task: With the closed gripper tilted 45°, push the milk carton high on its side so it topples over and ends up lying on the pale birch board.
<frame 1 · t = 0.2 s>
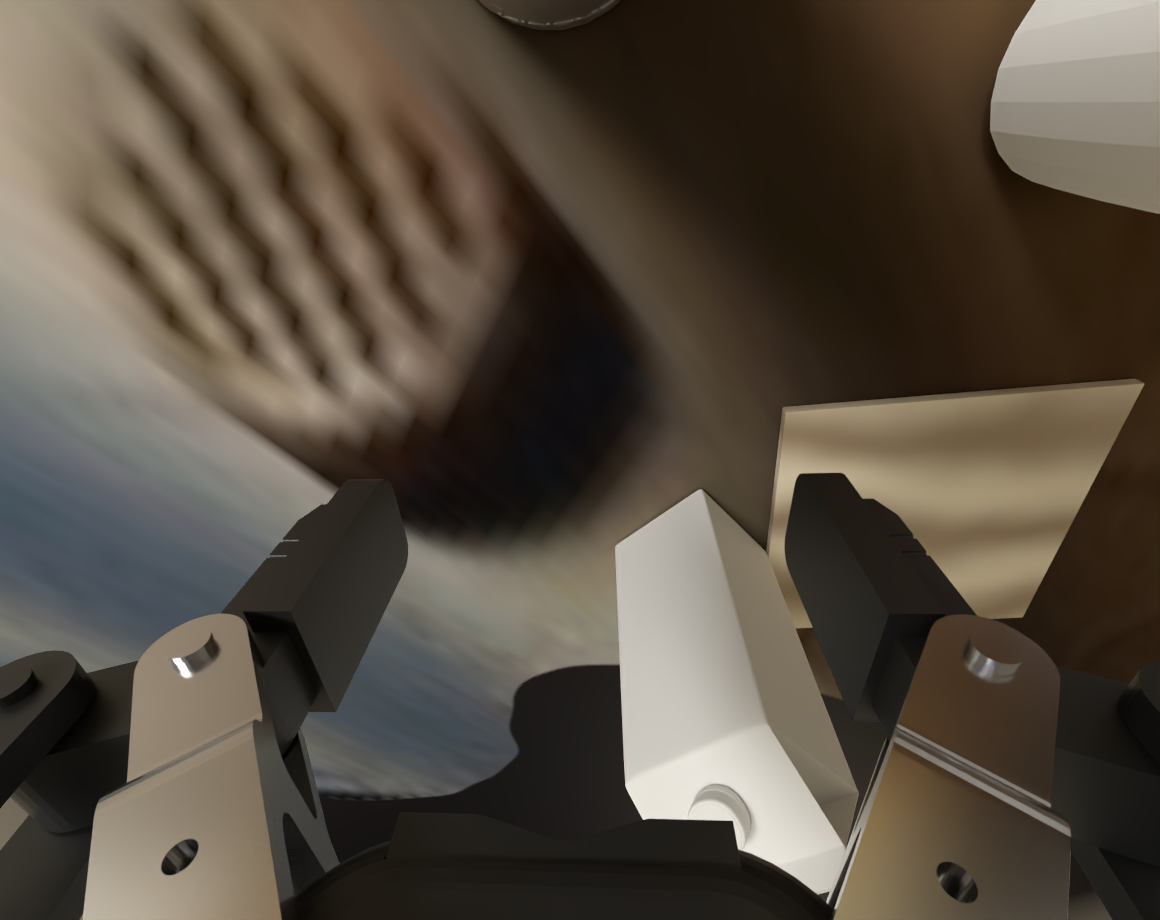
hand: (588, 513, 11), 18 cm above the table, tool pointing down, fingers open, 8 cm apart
milk carton: (689, 544, 35), on the table
birch board: (914, 521, 33), on the table
cup: (1076, 69, 21), on the table
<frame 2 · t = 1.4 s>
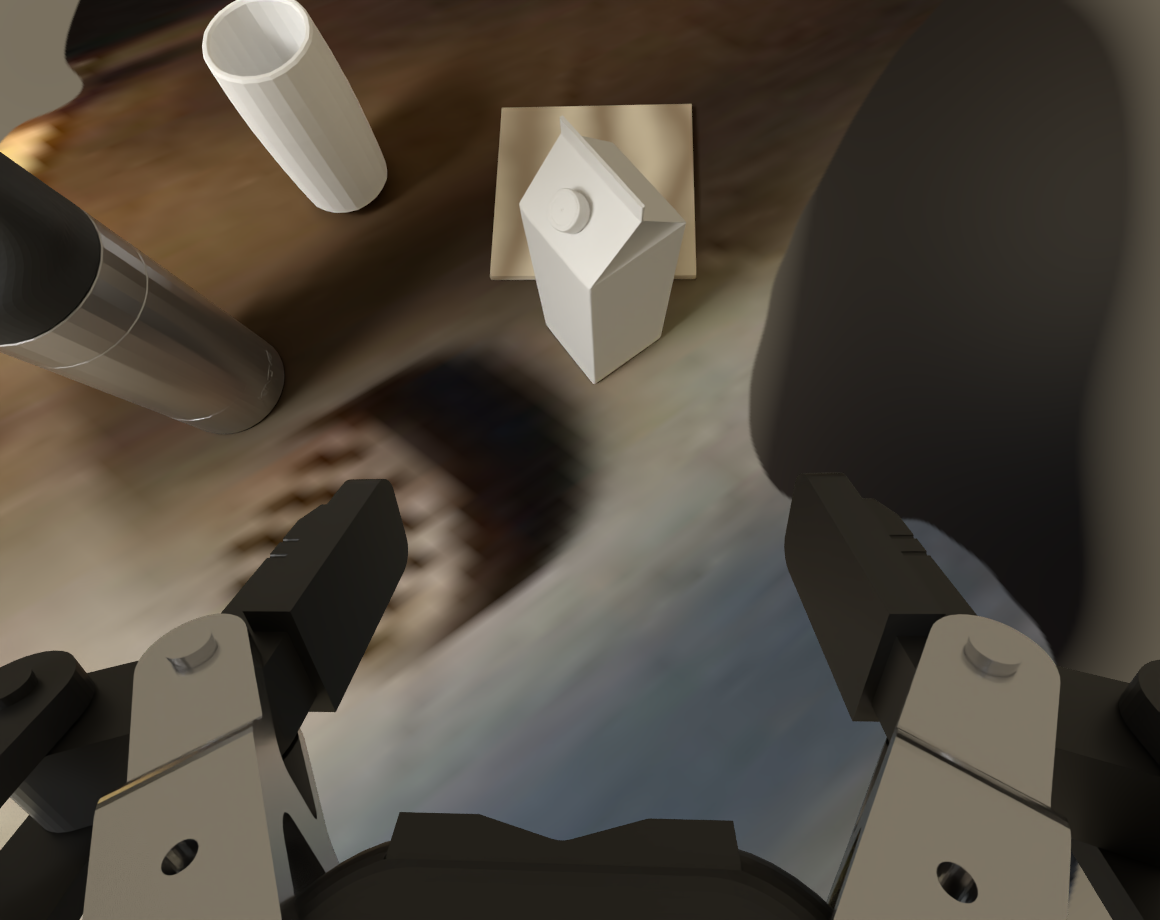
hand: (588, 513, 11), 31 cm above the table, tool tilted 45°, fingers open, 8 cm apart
milk carton: (602, 332, 46), on the table
birch board: (594, 191, 49), on the table
cup: (352, 187, 50), on the table
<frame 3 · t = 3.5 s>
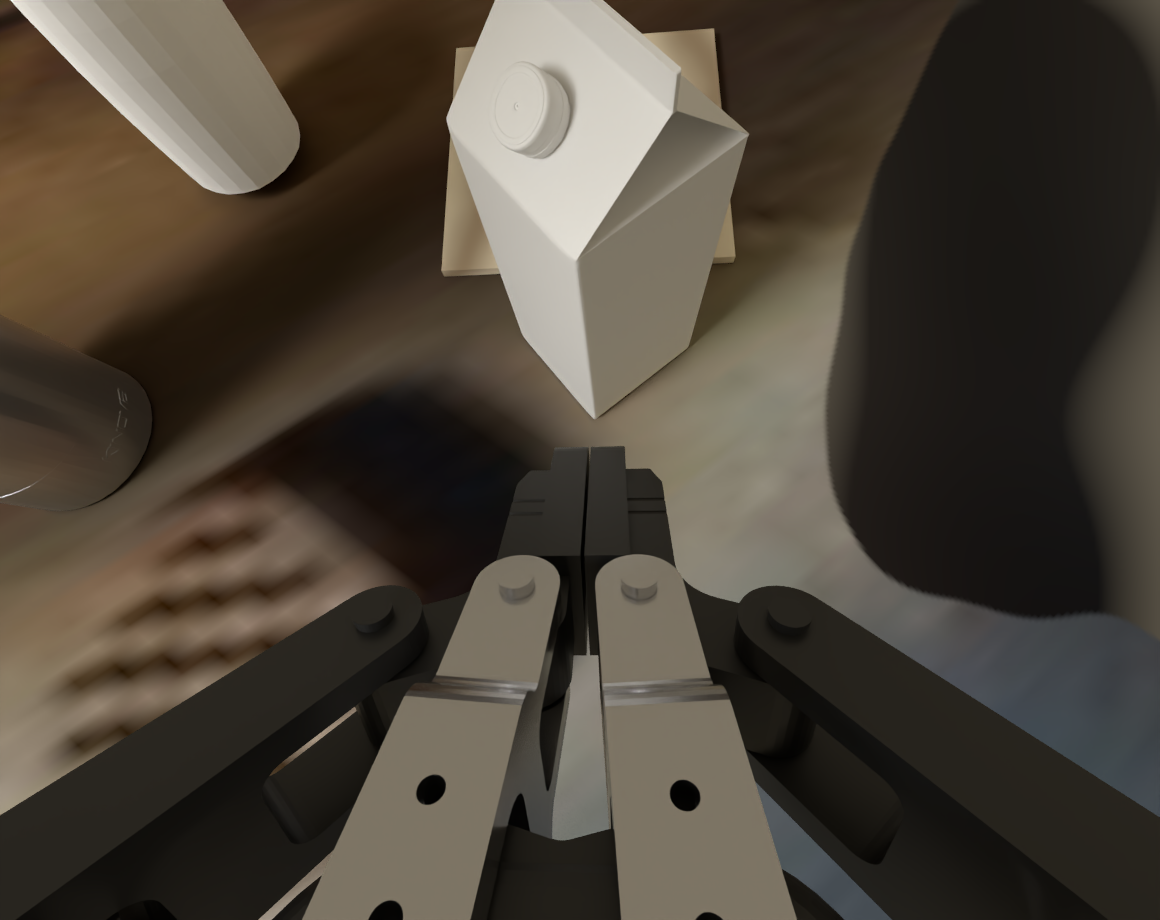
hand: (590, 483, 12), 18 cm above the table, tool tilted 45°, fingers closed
milk carton: (604, 344, 32), on the table
birch board: (584, 151, 35), on the table
cup: (257, 162, 37), on the table
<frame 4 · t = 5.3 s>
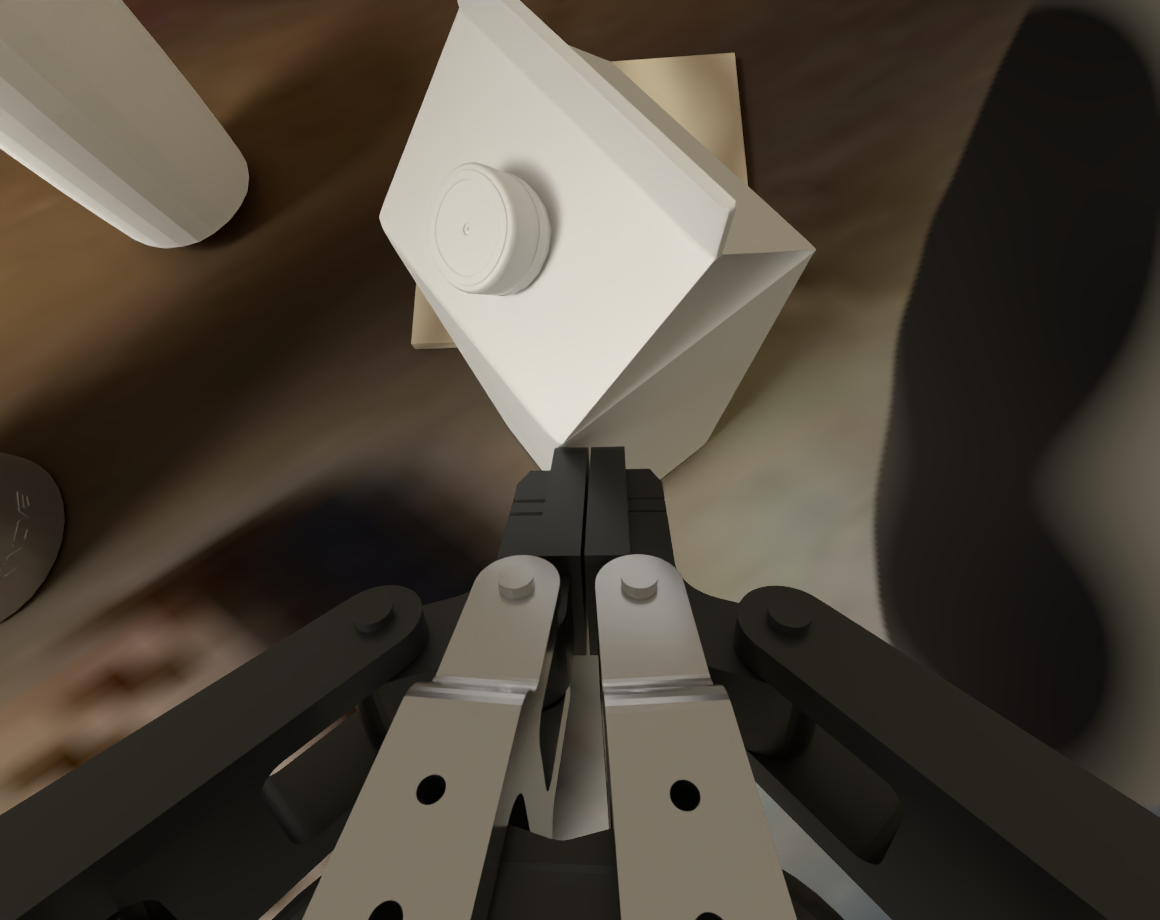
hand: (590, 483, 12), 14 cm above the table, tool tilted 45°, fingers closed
milk carton: (604, 435, 27), on the table, touching gripper
birch board: (582, 197, 30), on the table
cup: (202, 207, 32), on the table
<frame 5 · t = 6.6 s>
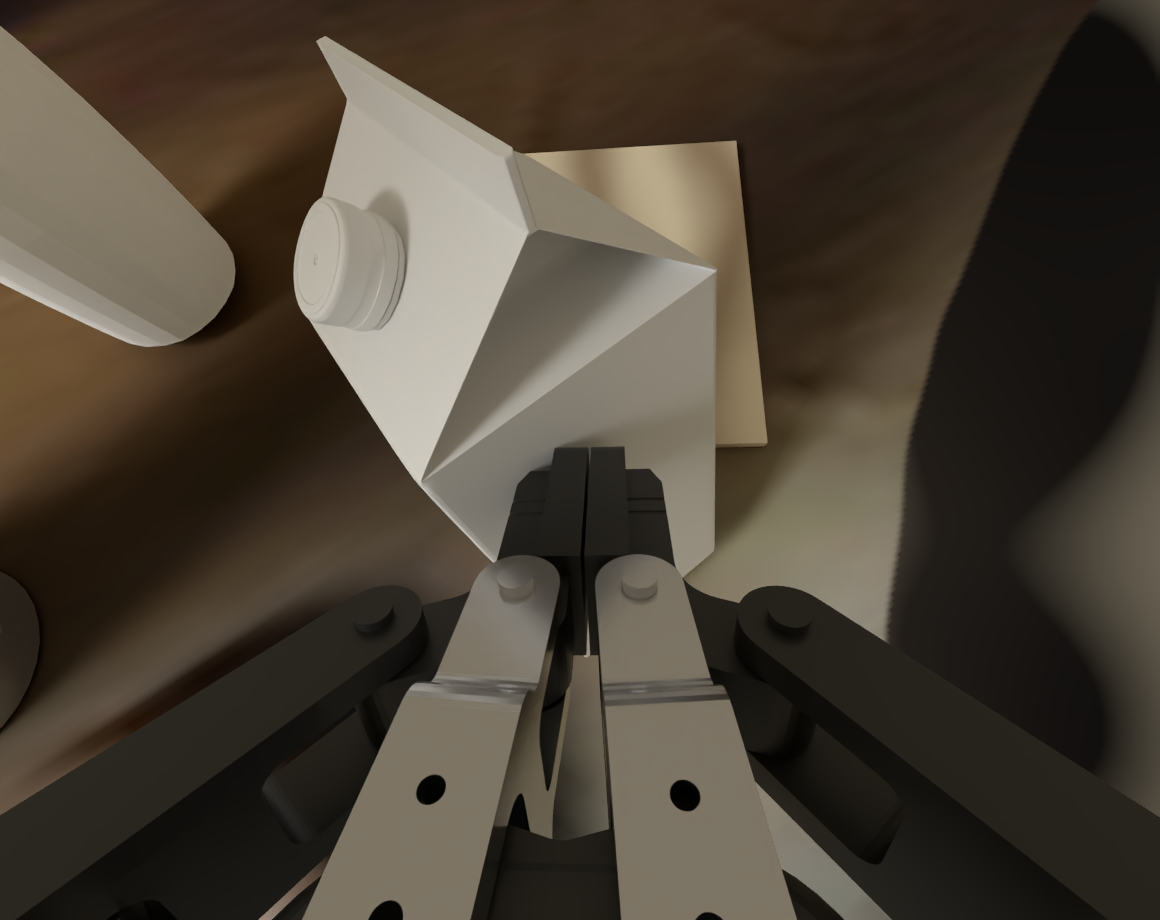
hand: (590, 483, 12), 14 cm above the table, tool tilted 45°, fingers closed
milk carton: (602, 547, 24), point 1 cm above the table, touching birch board, gripper
birch board: (580, 293, 29), on the table
cup: (187, 297, 31), on the table
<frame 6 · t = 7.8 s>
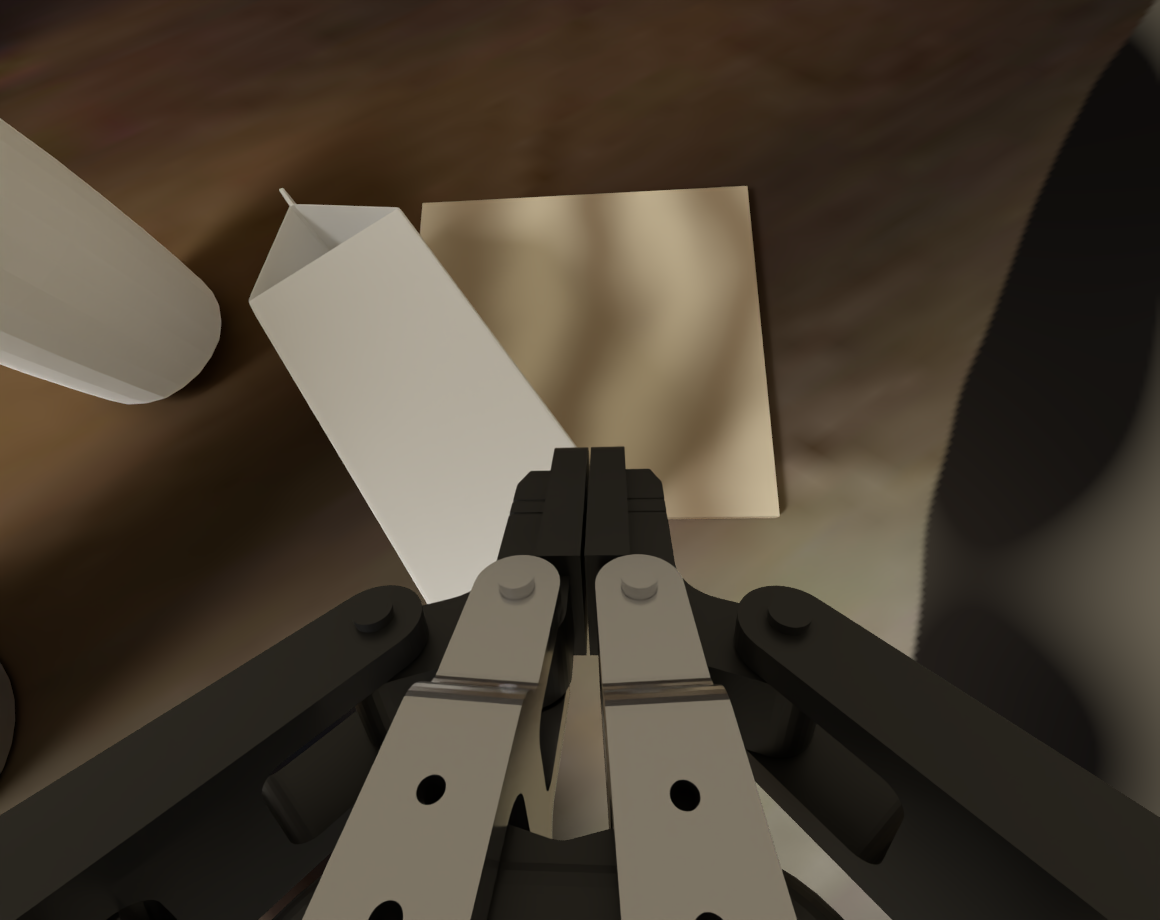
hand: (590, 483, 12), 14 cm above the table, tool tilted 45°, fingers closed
milk carton: (550, 577, 21), point 4 cm above the table, touching birch board
birch board: (583, 348, 28), on the table
cup: (172, 347, 30), on the table
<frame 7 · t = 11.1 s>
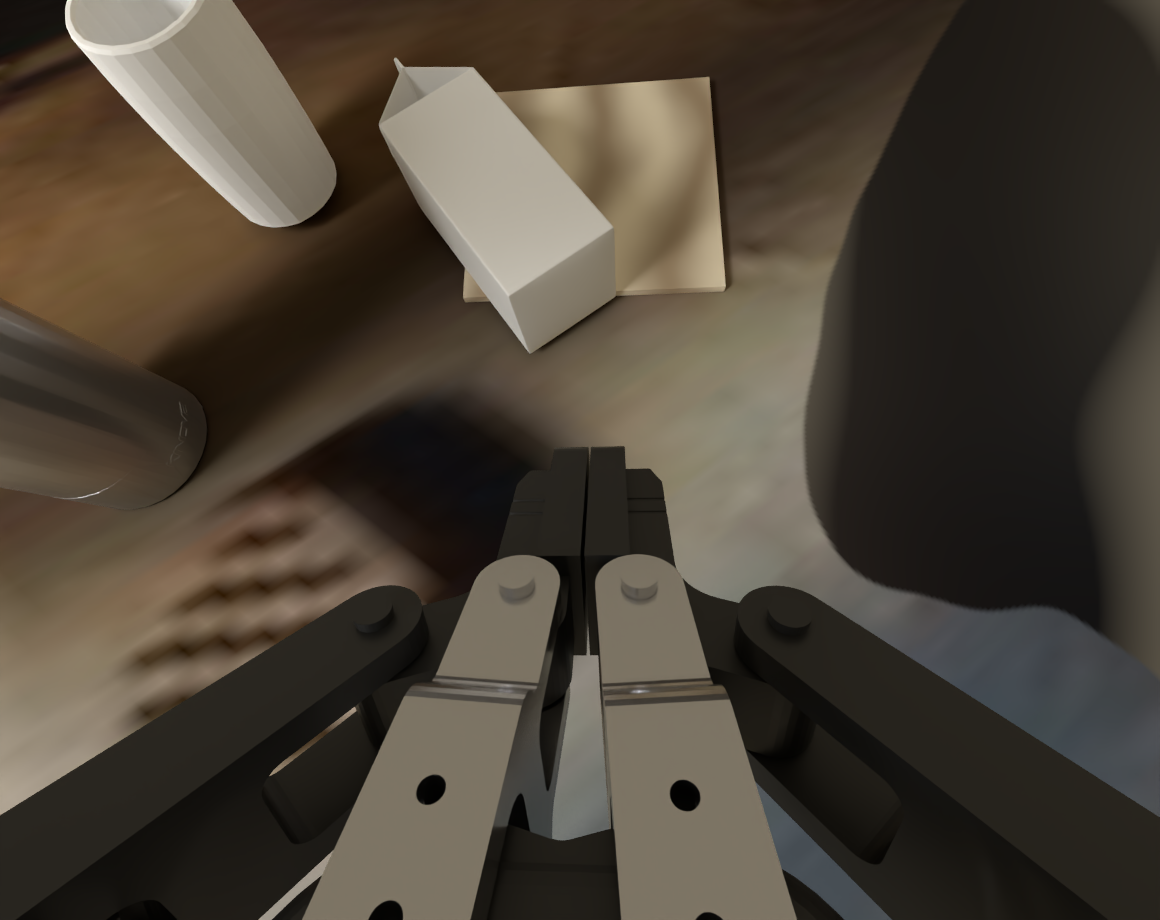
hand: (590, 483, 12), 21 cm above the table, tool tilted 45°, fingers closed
milk carton: (571, 301, 32), point 4 cm above the table, touching birch board
birch board: (591, 188, 39), on the table
cup: (297, 197, 41), on the table
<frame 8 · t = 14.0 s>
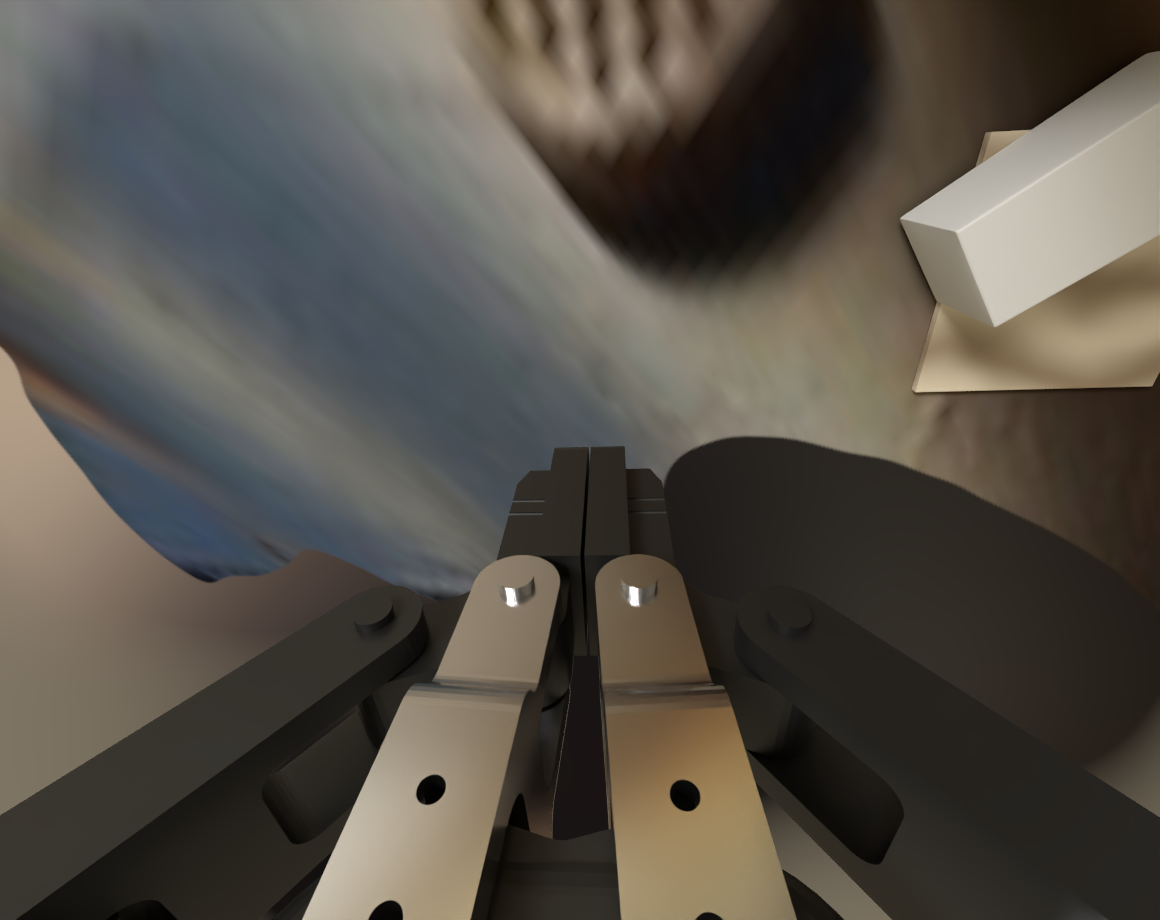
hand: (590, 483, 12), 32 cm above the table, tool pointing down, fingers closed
milk carton: (938, 274, 35), point 4 cm above the table, touching birch board
birch board: (1073, 270, 38), on the table
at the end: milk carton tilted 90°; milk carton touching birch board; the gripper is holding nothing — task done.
